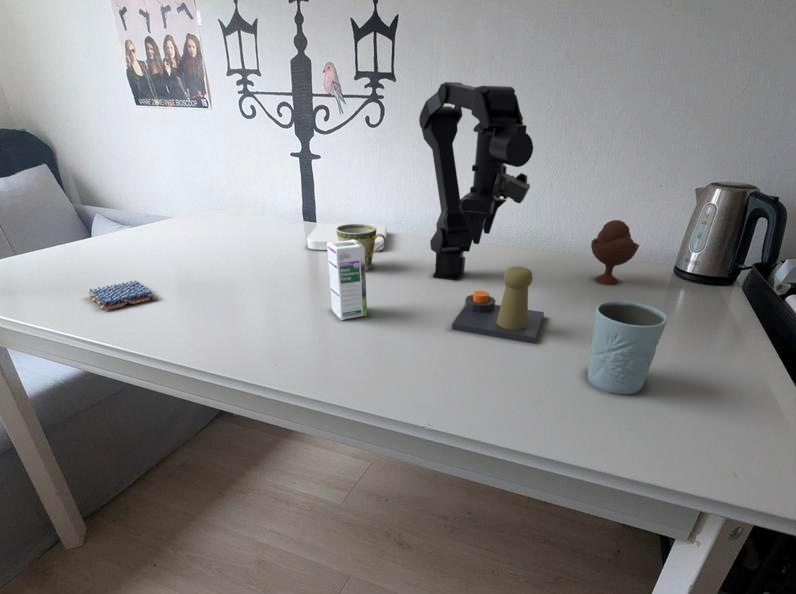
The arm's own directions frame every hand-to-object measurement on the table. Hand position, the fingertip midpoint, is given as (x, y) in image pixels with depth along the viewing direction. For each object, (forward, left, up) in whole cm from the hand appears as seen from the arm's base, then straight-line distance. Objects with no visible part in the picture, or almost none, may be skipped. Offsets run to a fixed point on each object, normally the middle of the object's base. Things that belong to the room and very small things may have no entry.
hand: (481, 238), depth 105 cm
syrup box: (-22, -21, -13) cm, 33 cm away
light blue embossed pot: (+30, -29, -13) cm, 44 cm away
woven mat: (-70, -33, -13) cm, 79 cm away
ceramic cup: (-32, +7, -13) cm, 35 cm away
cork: (+11, -16, -12) cm, 23 cm away
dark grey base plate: (+8, -14, -13) cm, 21 cm away
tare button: (+3, -10, -10) cm, 15 cm away
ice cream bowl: (+28, +23, -13) cm, 38 cm away
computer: (-47, +29, -13) cm, 57 cm away
